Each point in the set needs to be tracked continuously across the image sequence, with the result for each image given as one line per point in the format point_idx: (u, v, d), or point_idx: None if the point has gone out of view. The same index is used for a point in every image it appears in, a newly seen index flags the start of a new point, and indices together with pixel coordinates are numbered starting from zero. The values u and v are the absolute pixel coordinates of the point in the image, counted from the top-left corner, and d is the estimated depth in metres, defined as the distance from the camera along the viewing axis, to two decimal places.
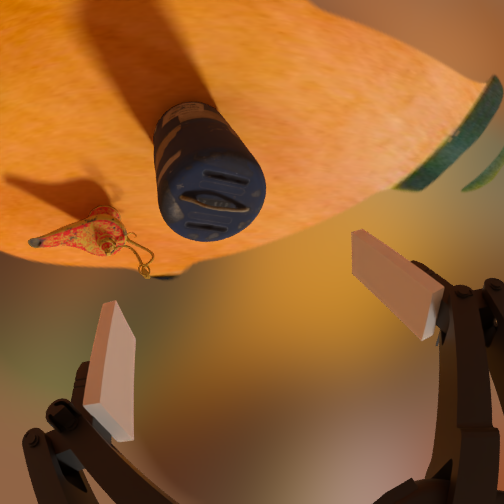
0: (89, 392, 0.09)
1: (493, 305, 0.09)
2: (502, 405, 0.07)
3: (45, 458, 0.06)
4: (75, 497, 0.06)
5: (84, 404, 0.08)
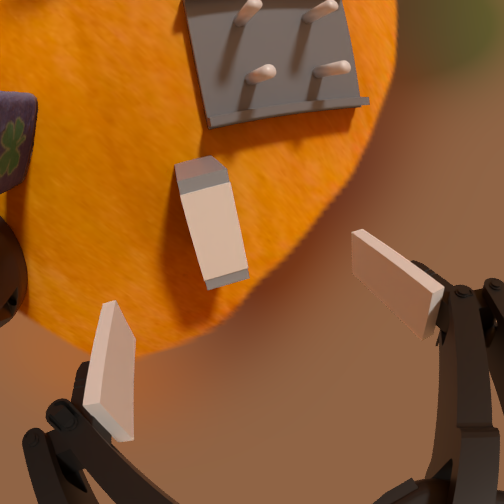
0: (89, 392, 0.09)
1: (493, 305, 0.09)
2: (502, 405, 0.07)
3: (45, 458, 0.06)
4: (75, 497, 0.06)
5: (84, 404, 0.08)
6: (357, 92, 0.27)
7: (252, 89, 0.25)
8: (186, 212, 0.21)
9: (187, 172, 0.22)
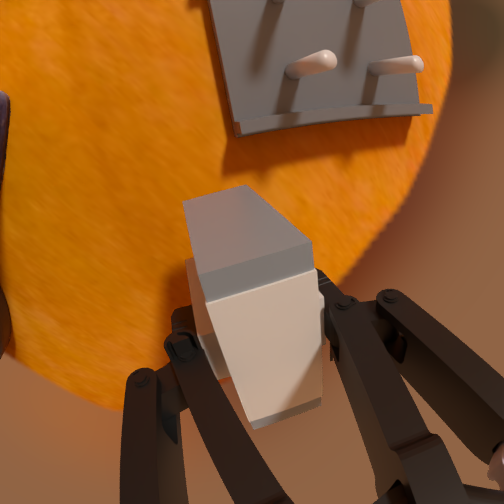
0: (201, 325, 0.11)
1: (395, 321, 0.10)
2: (440, 415, 0.08)
3: (149, 402, 0.09)
4: (165, 448, 0.08)
5: (199, 335, 0.11)
6: (416, 97, 0.20)
7: (294, 85, 0.18)
8: (220, 335, 0.10)
9: (215, 237, 0.11)
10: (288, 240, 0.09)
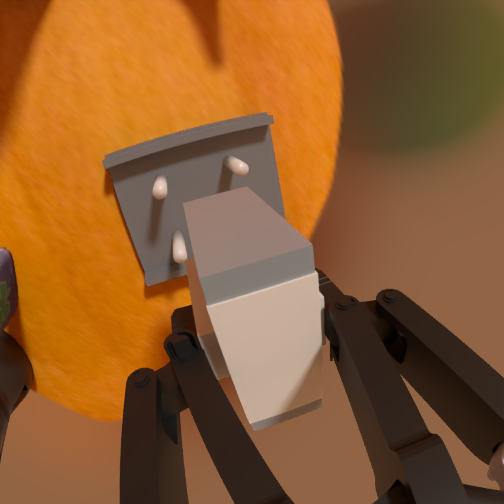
0: (201, 325, 0.11)
1: (395, 321, 0.10)
2: (440, 415, 0.08)
3: (149, 402, 0.09)
4: (165, 448, 0.08)
5: (199, 335, 0.11)
6: None
7: None
8: (221, 337, 0.10)
9: (216, 240, 0.11)
10: (289, 243, 0.09)
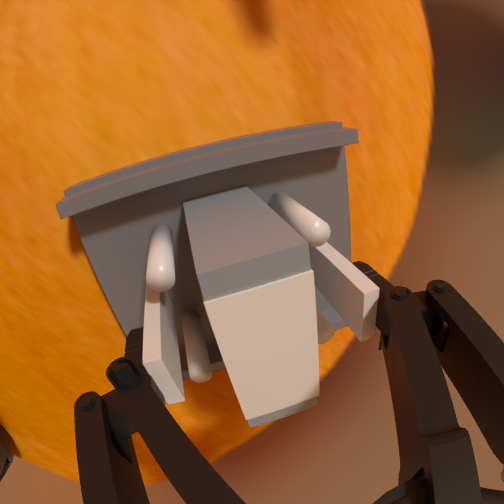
0: (148, 351, 0.10)
1: (441, 309, 0.10)
2: (469, 407, 0.08)
3: (97, 424, 0.08)
4: (120, 467, 0.07)
5: (144, 362, 0.10)
6: None
7: None
8: (218, 333, 0.10)
9: (214, 237, 0.11)
10: (285, 241, 0.10)
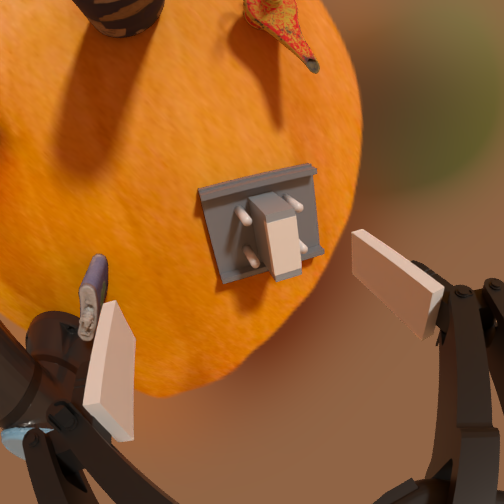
0: (89, 392, 0.09)
1: (493, 305, 0.09)
2: (502, 405, 0.07)
3: (45, 458, 0.06)
4: (75, 497, 0.06)
5: (84, 404, 0.08)
6: (317, 242, 0.47)
7: None
8: (269, 233, 0.35)
9: (266, 207, 0.36)
10: (288, 207, 0.35)
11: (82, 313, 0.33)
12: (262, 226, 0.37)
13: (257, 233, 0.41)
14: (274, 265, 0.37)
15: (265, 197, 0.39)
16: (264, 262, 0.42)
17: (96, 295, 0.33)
